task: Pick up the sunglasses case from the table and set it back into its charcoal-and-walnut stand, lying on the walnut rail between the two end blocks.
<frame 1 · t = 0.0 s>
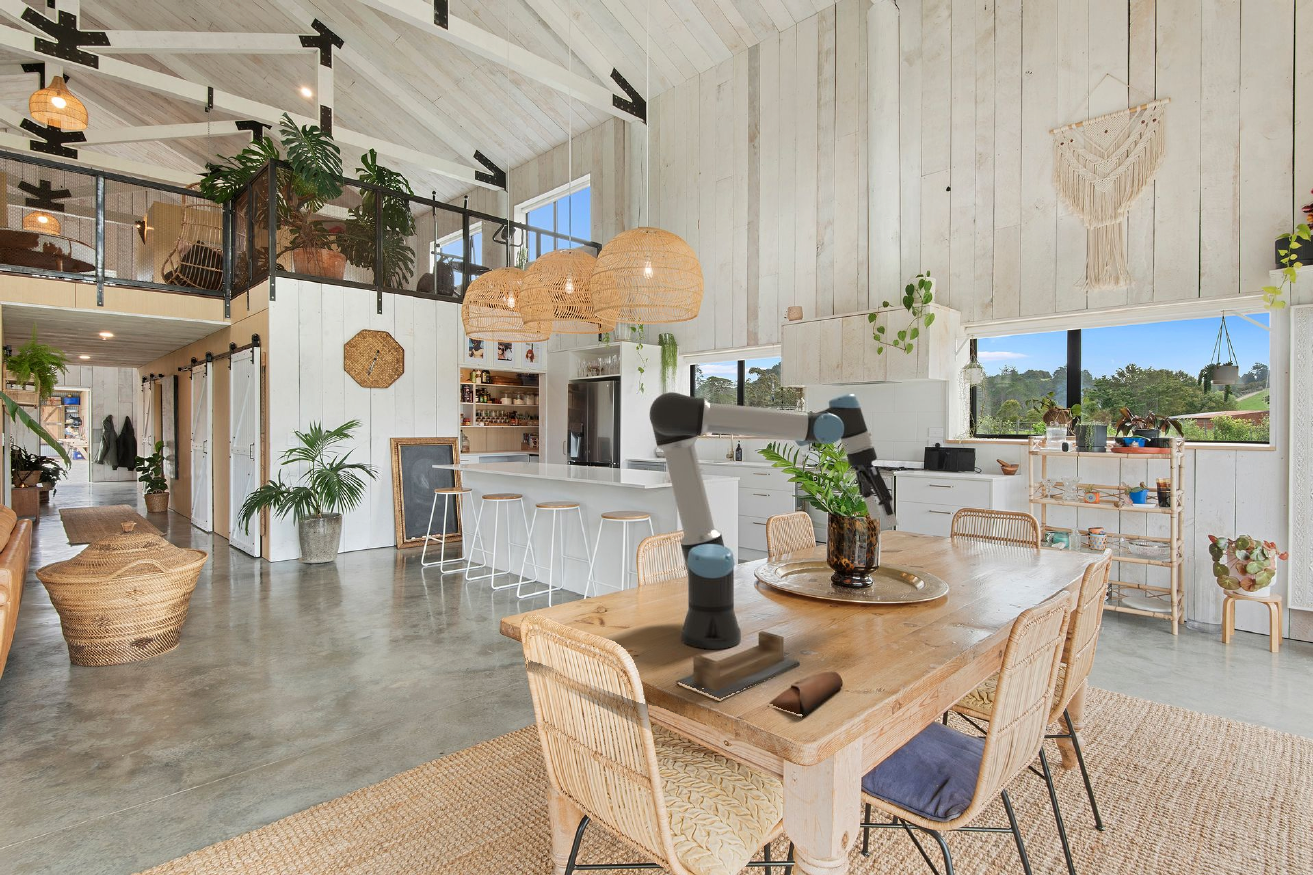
hand: (884, 522, 182), 28 cm above the table, tool tilted 20°, fingers open, 13 cm apart
sunglasses case: (805, 700, 134), on the table
case stand: (740, 674, 146), on the table
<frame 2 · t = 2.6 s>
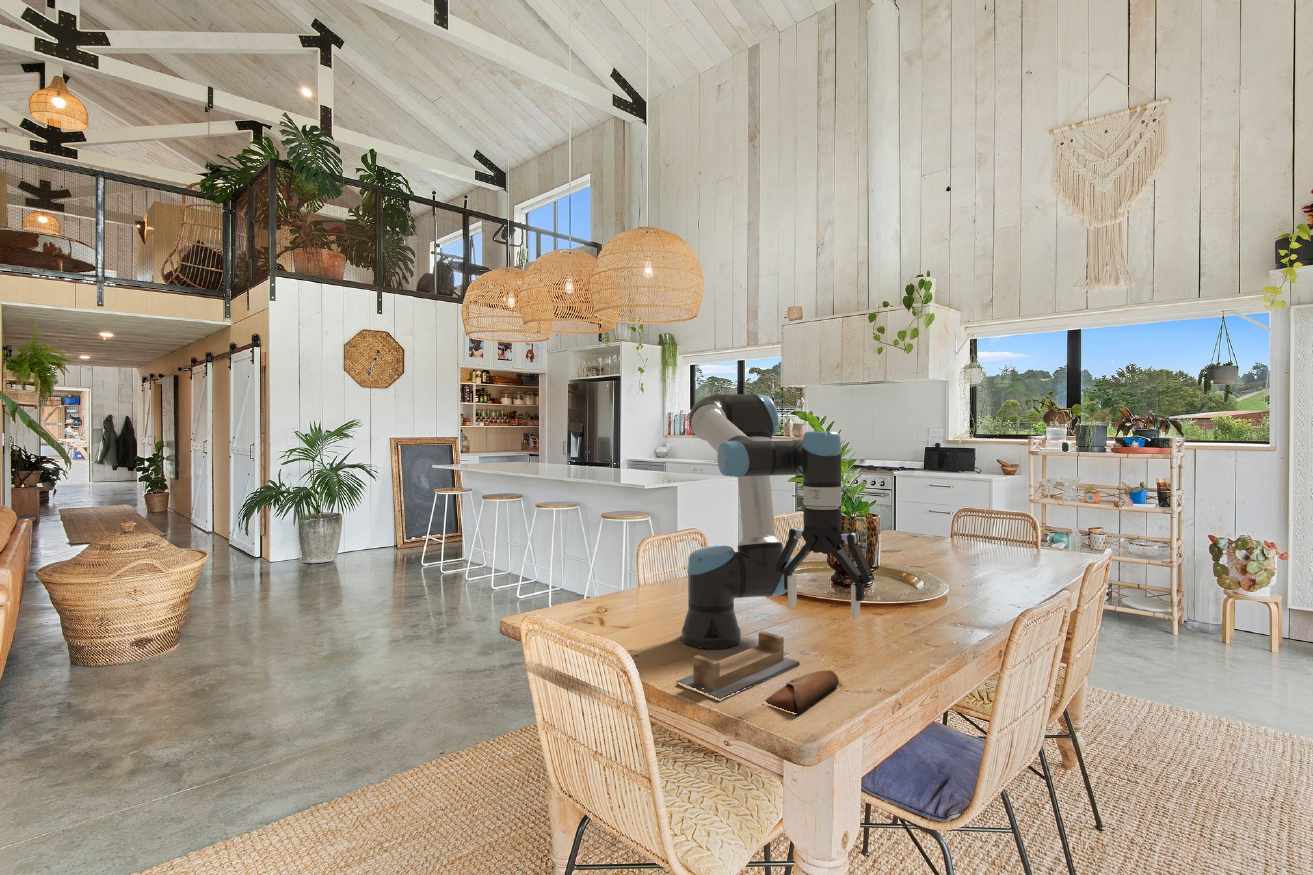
hand: (823, 611, 134), 17 cm above the table, tool pointing down, fingers open, 13 cm apart
sunglasses case: (801, 699, 134), on the table
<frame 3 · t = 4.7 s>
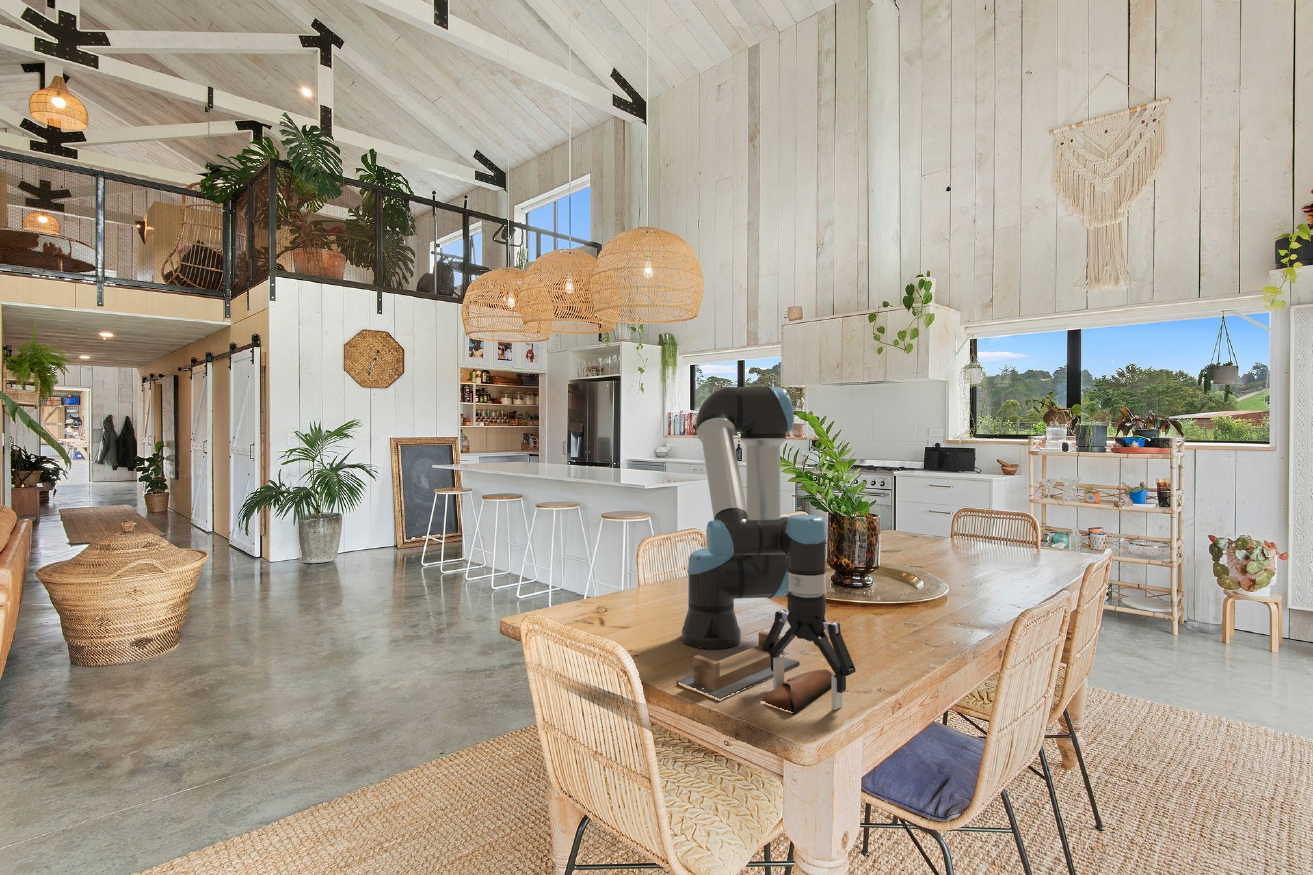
hand: (806, 697, 133), 0 cm above the table, tool pointing down, fingers open, 13 cm apart
sunglasses case: (797, 698, 135), on the table, touching gripper
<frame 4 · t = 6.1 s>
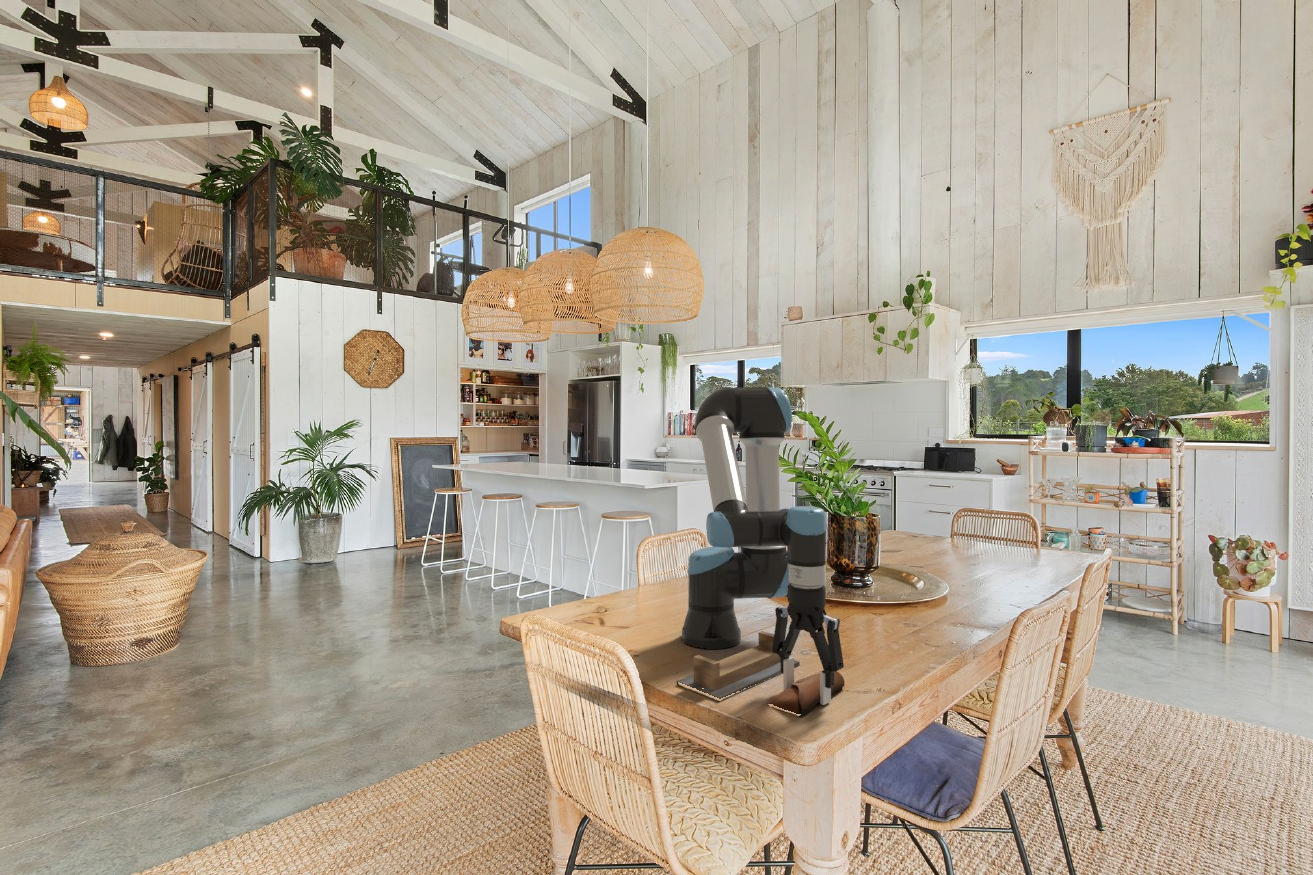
hand: (806, 695, 133), 0 cm above the table, tool pointing down, fingers closed on sunglasses case, 8 cm apart
sunglasses case: (806, 700, 134), on the table, touching gripper
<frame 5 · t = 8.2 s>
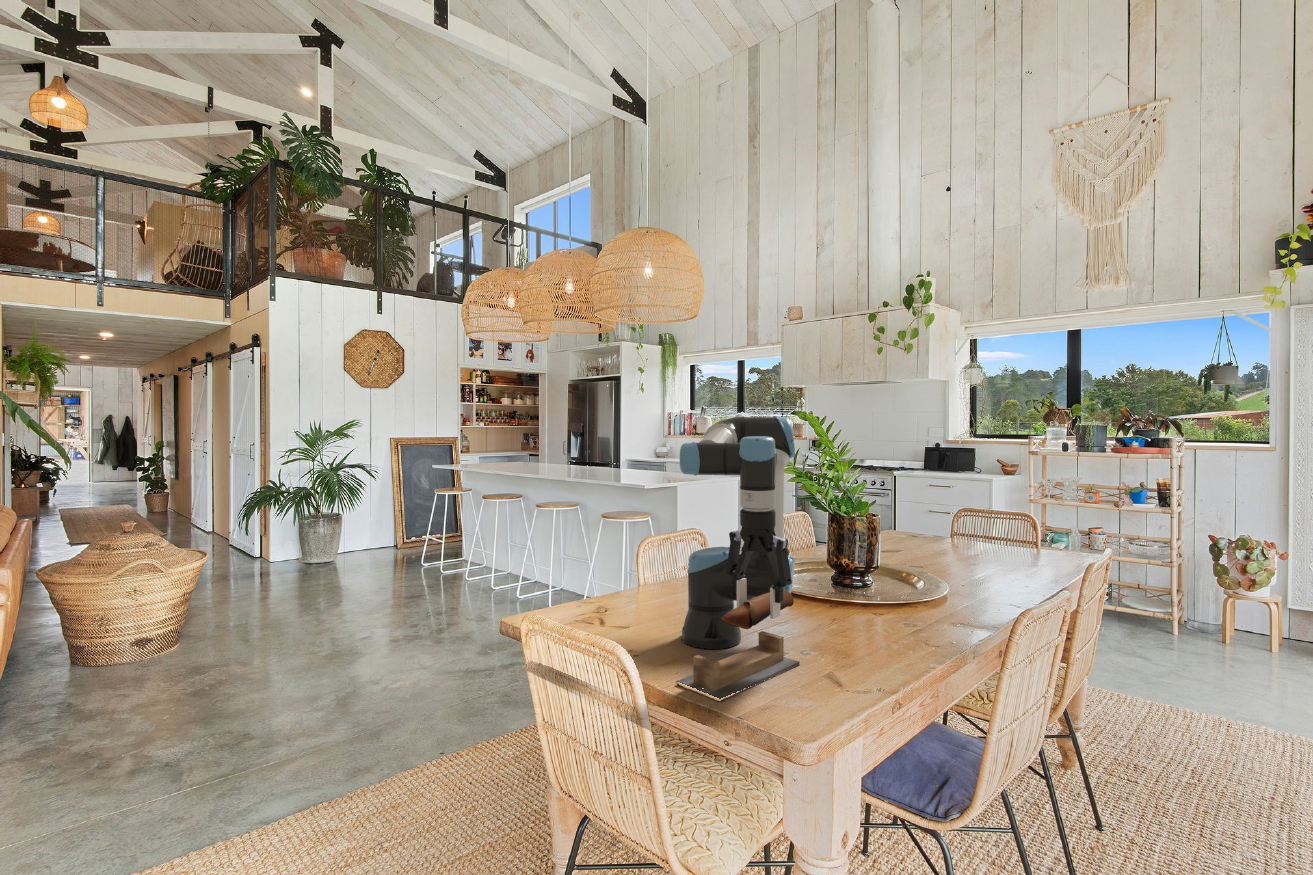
hand: (758, 612, 143), 15 cm above the table, tool pointing down, fingers closed on sunglasses case, 8 cm apart
sunglasses case: (757, 616, 143), point 14 cm above the table, touching gripper
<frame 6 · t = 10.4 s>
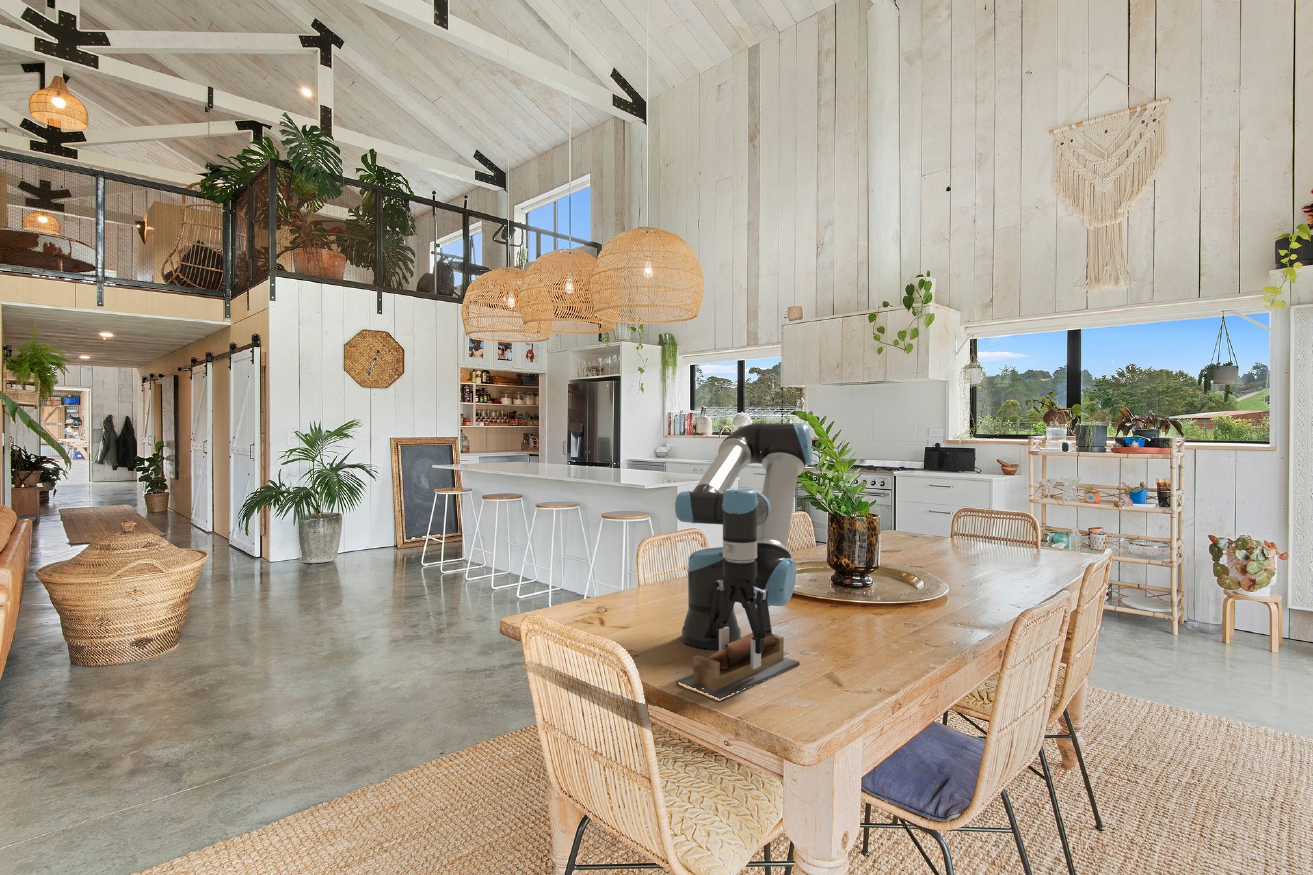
hand: (739, 661, 145), 3 cm above the table, tool pointing down, fingers closed on sunglasses case, 8 cm apart
sunglasses case: (740, 658, 146), point 4 cm above the table, touching case stand, gripper
when the fingers open (3 cm above the table, at t = 10.8 s): sunglasses case stays where it is, resting on case stand.
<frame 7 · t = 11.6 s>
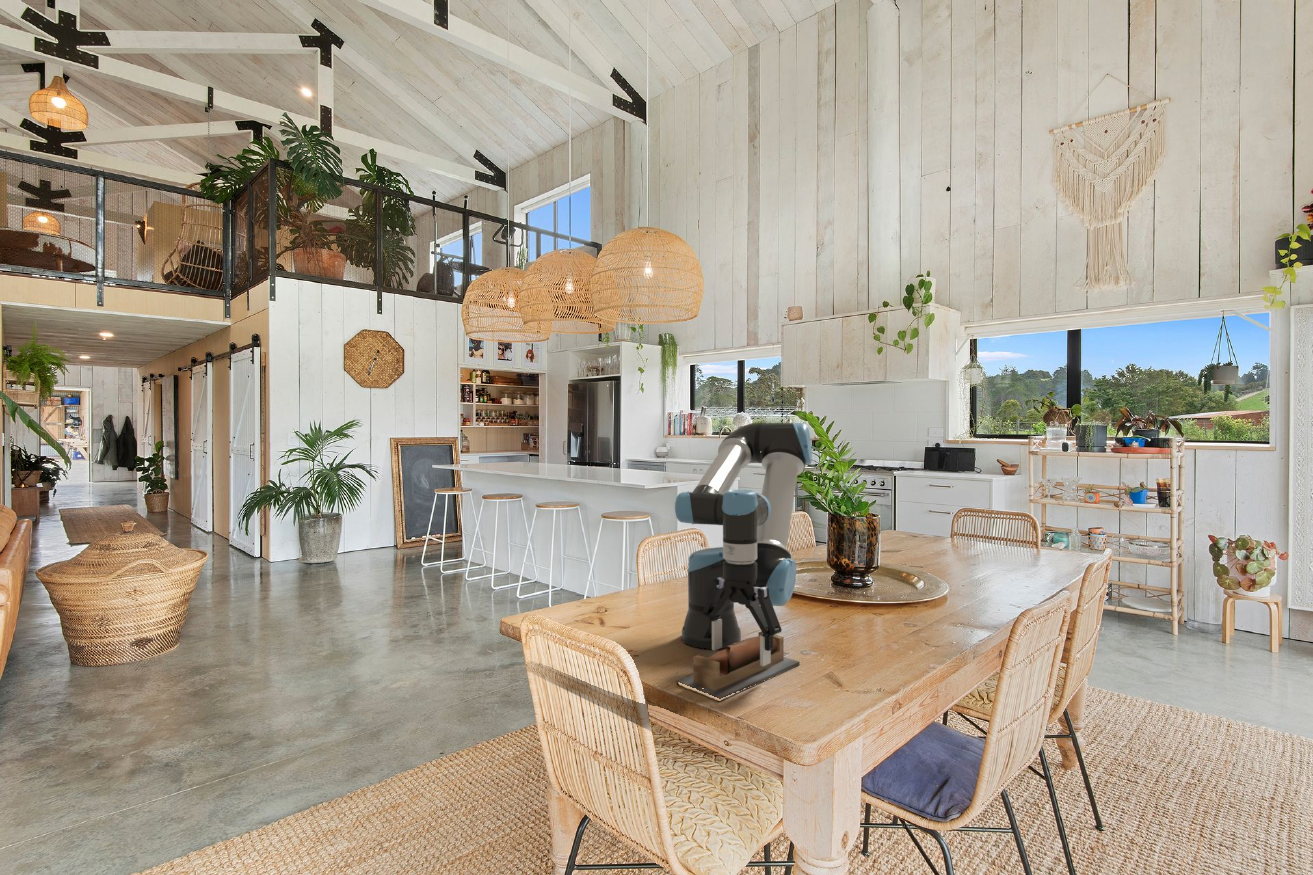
hand: (740, 656, 146), 4 cm above the table, tool pointing down, fingers open, 13 cm apart
sunglasses case: (740, 660, 146), point 3 cm above the table, touching case stand
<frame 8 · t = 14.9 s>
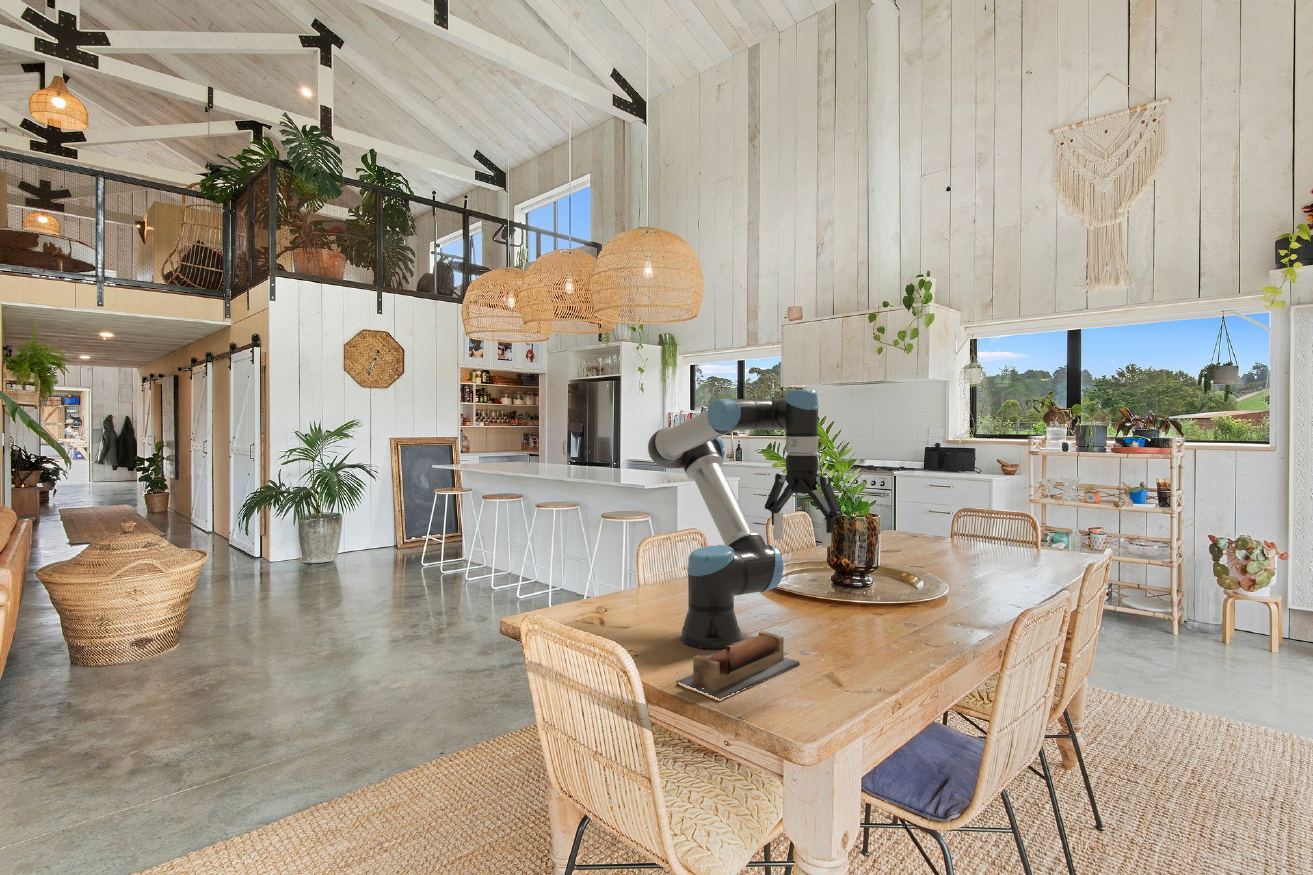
hand: (801, 542, 158), 27 cm above the table, tool pointing down, fingers open, 13 cm apart
nothing on the table moved.
at the end: sunglasses case 0.1 cm off-centre on the case stand, point 3.1 cm above the case stand's base; sunglasses case tilted 2°; the gripper is holding nothing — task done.
